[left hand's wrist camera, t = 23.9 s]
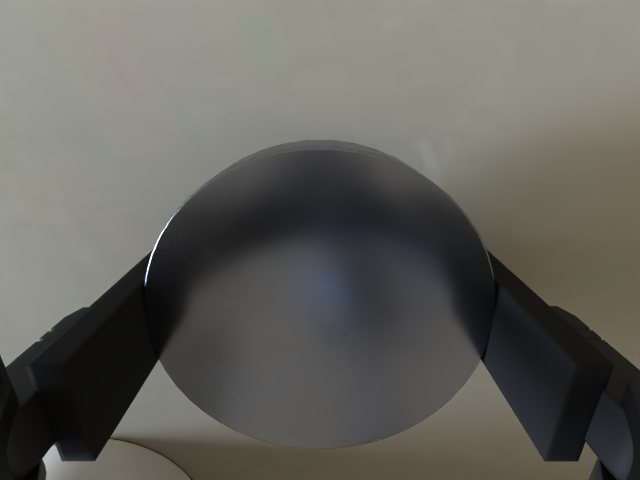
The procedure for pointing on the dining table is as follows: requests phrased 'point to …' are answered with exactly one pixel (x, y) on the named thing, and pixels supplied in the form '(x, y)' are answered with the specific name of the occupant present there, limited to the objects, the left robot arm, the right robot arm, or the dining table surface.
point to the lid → (319, 296)
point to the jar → (114, 465)
